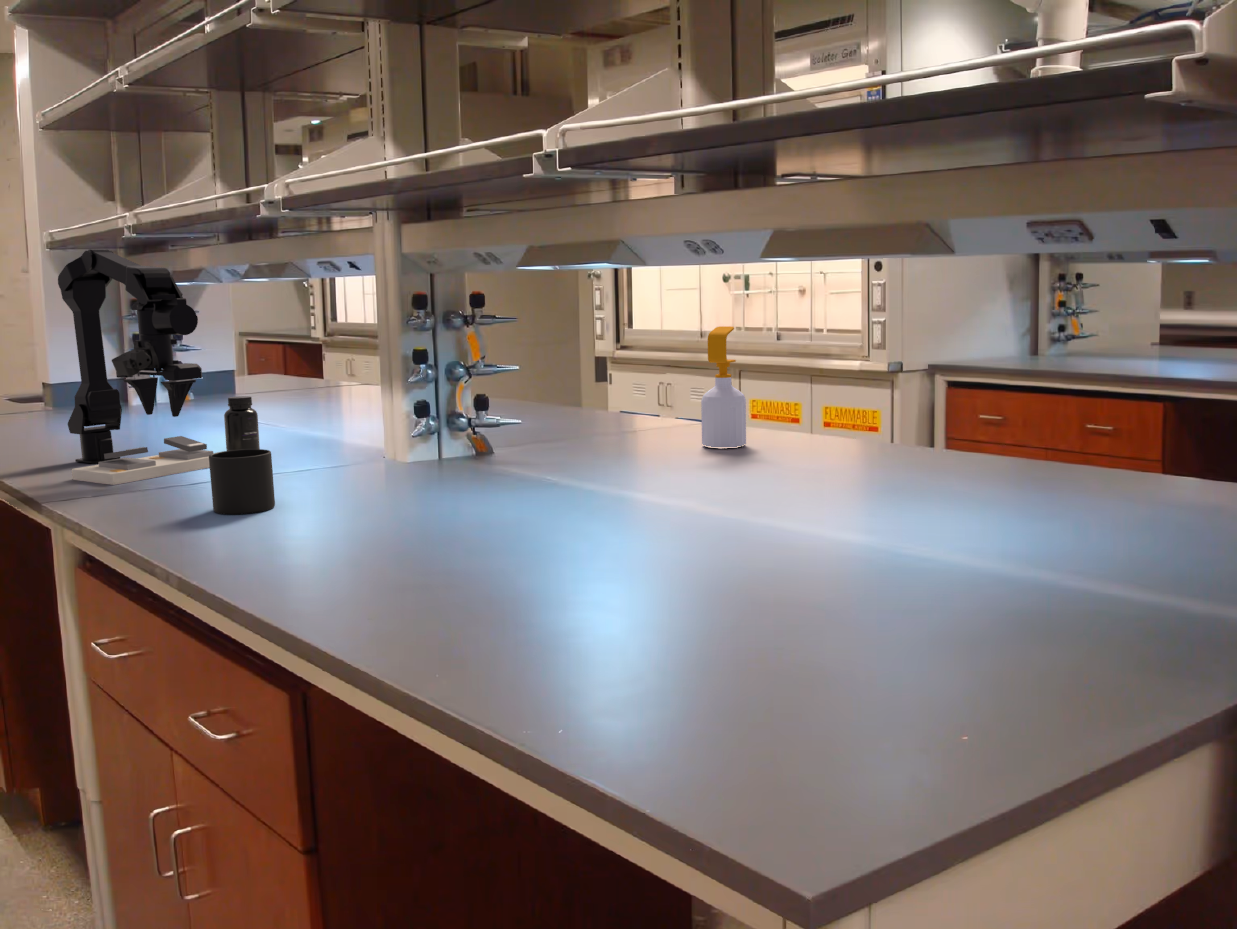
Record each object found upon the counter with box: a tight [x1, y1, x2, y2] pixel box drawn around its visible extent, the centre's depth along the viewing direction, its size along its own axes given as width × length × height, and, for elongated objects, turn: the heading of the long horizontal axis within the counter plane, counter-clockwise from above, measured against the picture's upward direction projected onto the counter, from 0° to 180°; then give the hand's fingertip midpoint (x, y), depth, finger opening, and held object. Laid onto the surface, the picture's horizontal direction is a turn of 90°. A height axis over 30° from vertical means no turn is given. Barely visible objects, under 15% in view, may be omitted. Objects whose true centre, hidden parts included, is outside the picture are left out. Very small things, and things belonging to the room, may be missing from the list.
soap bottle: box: [700, 325, 747, 447], centre depth 232 cm, size 9×9×25 cm
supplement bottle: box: [223, 395, 261, 451], centre depth 241 cm, size 7×7×12 cm
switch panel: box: [71, 448, 215, 486], centre depth 220 cm, size 13×25×3 cm, turn 147°
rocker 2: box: [163, 435, 208, 452], centre depth 225 cm, size 8×4×1 cm, turn 57°
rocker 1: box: [104, 446, 149, 459], centre depth 215 cm, size 8×4×1 cm, turn 57°
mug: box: [209, 448, 276, 516], centre depth 182 cm, size 9×12×9 cm
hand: (162, 415), depth 218 cm, fingers open, 8 cm apart
